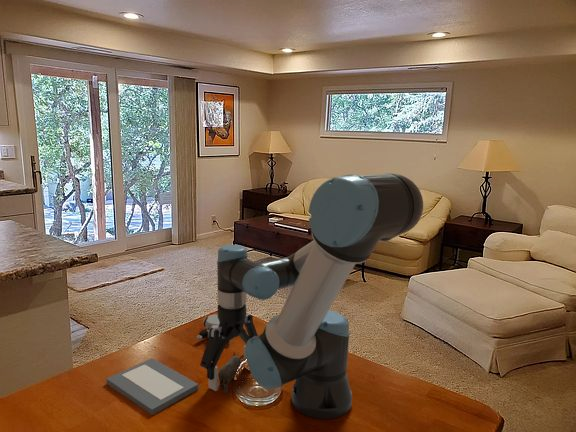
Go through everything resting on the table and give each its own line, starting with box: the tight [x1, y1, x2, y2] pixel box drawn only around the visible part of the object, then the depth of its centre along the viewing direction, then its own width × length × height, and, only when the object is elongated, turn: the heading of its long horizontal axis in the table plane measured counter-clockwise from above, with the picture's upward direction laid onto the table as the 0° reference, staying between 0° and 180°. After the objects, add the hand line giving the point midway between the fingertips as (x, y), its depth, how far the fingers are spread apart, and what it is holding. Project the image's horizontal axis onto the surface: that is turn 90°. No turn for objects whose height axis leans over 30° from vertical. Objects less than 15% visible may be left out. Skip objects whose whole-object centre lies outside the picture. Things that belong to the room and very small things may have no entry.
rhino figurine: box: [218, 352, 244, 394], centre depth 118 cm, size 4×14×6 cm, turn 165°
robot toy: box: [196, 313, 233, 342], centre depth 144 cm, size 12×4×15 cm
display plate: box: [105, 357, 199, 416], centre depth 114 cm, size 20×14×2 cm
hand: (231, 378), depth 118 cm, fingers open, 12 cm apart
